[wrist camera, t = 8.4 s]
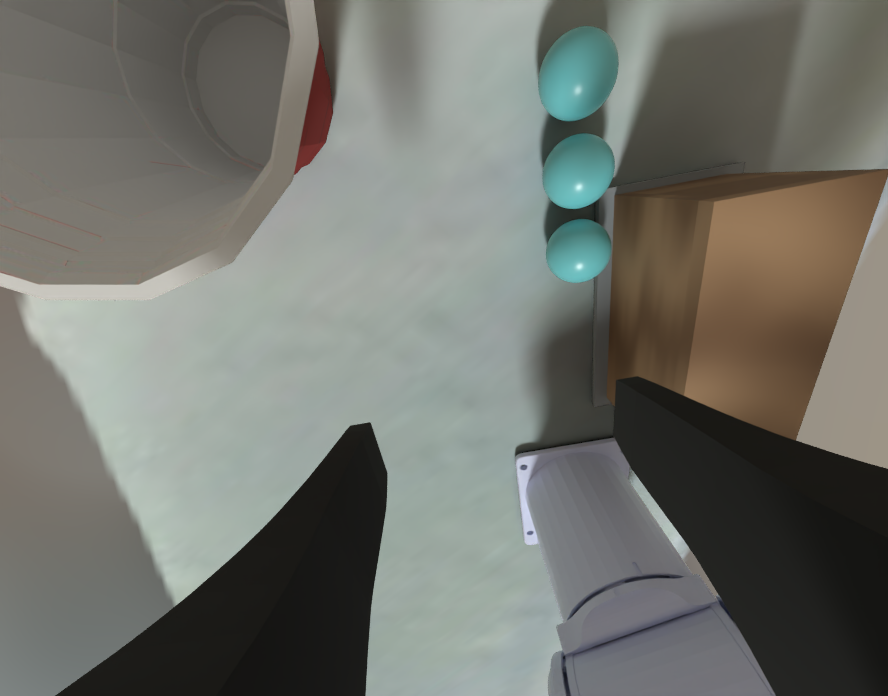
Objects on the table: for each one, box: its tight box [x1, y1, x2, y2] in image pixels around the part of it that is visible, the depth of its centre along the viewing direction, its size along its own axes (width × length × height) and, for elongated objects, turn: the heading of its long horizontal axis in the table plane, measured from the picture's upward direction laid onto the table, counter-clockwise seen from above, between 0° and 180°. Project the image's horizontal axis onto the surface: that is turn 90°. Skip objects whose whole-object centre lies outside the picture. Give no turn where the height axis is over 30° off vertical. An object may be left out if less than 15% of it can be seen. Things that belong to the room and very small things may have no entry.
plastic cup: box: [0, 0, 333, 300], centre depth 10 cm, size 11×11×12 cm
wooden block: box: [607, 169, 888, 441], centre depth 17 cm, size 12×6×6 cm, turn 10°
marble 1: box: [542, 133, 615, 209], centre depth 15 cm, size 3×3×3 cm
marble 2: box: [546, 219, 612, 283], centre depth 17 cm, size 3×3×3 cm
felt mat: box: [592, 162, 745, 407], centre depth 20 cm, size 13×7×1 cm, turn 10°
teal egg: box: [538, 26, 618, 121], centre depth 14 cm, size 3×3×3 cm
